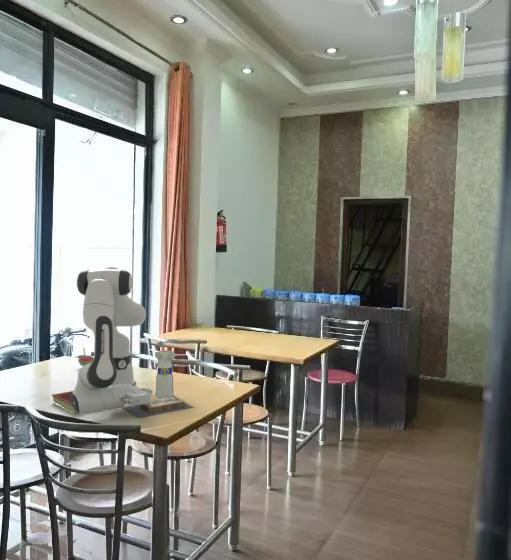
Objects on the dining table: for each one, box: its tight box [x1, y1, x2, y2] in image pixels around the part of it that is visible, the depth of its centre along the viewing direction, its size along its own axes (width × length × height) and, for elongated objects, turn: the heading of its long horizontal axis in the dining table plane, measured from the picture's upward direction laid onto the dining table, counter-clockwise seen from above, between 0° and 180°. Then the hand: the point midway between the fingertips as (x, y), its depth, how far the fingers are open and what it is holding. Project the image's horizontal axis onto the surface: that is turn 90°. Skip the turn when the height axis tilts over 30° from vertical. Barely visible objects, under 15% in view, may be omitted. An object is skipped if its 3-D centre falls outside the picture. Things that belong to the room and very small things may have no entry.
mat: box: [121, 403, 195, 419], centre depth 192 cm, size 16×24×1 cm, turn 128°
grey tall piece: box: [155, 340, 176, 399], centre depth 211 cm, size 8×9×25 cm
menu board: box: [139, 395, 185, 413], centre depth 194 cm, size 10×2×15 cm
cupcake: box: [78, 346, 94, 366], centre depth 264 cm, size 9×8×12 cm
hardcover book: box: [51, 390, 78, 415], centre depth 195 cm, size 12×21×4 cm, turn 45°
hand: (150, 391), depth 190 cm, fingers closed
